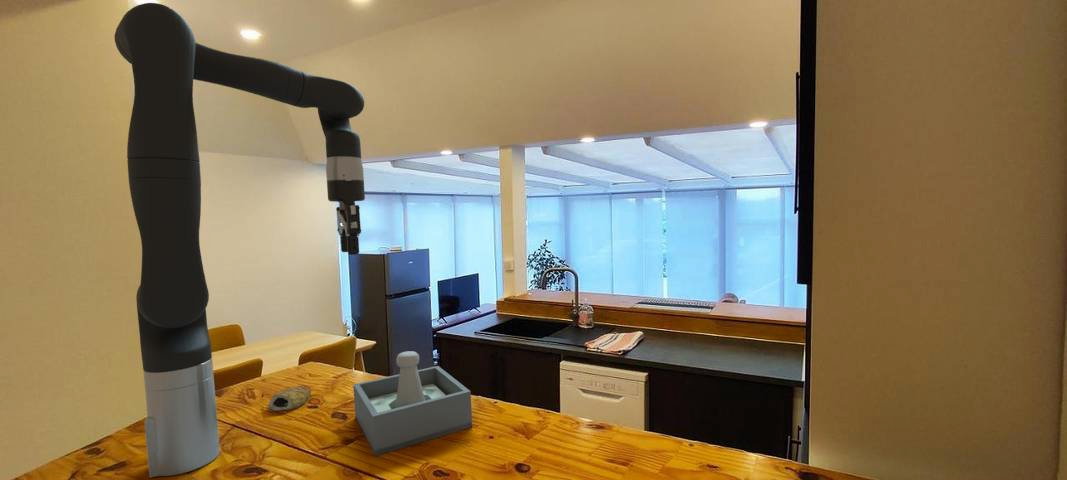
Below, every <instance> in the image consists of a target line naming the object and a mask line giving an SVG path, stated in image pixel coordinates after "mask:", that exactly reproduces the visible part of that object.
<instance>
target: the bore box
mask: <svg viewBox="0 0 1067 480" xmlns="http://www.w3.org/2000/svg"><path fill="white" fill-rule="evenodd" d="M418 373H419V377H420V381H421V385H422V389H423V393H424V397H425V401H422V402H418V403H414V404H410V405H406V406H403V407H399V408H395V405H396V398H397V391H398V383H399V376H400V373H399V374H395V375H389V376H385V377H380V378H376V379H371V380H367V381H362V382H357V383H353V384H352V385H353V400H354V401H353V402H354V416H355V420H356V422H357V424H358V426H359V427H360V429H361V431H362V433H363V435H364V437H365V438H366V441H367V443H368V445H369V447H370V449H371V451H372V453H373V454H374V457H378V456H382V455H384V454H387V453H388V454H389V453H390V452H395V451H397V450H401V449H404V448H408V447H411V446H415V445H417V444H420V443H421V444H422V443H424V442H428V441H430V440H434V439H437V438H440V437H444V436H446V435H450V434H453V433H457V432H461V431H464V430H466V429H470V428H473V417H472V416H473V414H472V395H471V393H472V392H471V390H470V389H469V388H467V387H466V386H464V385H463V384H462V383H461V382H460V381H458V380H457V379H456V378H454V377H453V376H452V375H451V374H449V373H448V372H447V371H446V370H444V369H443V368H441V366H439V365H436V366H430V367H426V368H422V369H418Z"/></svg>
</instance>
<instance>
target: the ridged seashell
mask: <svg viewBox="0 0 1067 480" xmlns="http://www.w3.org/2000/svg"><path fill="white" fill-rule="evenodd" d="M311 394H312V390H311V388H310V387H308V386H303V385H298V386H291V387H285V388H283V389H280V390H279V391H277V392H275V393H274V394H273V395H272V397H271V399H270V401H269V403H268V404H267V408H269V410H270V411H278V412H279V411H290V410H294V409H297V408H300V407H301V406H302V405H304V404H306V402H308V400H309V399H310V398H311V396H312V395H311Z"/></svg>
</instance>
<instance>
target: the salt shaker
mask: <svg viewBox="0 0 1067 480" xmlns="http://www.w3.org/2000/svg"><path fill="white" fill-rule="evenodd" d="M419 363H420V355H419V353H417V351H412V350H410V351H408V350H407V351H402V352H400V353H399V354H397V356H396V365H397V367H399V368H400V370H399V374H400V376H399V383H398V391H397V398H396V405H395V408H399V407H403V406H406V405H410V404H414V403H418V402H422V401H425V397H424V393H423V389H422V385H421V381H420V377H419V373H418V370H419V369H418V366H417V365H418V364H419Z"/></svg>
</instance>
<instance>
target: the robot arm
mask: <svg viewBox="0 0 1067 480" xmlns="http://www.w3.org/2000/svg"><path fill="white" fill-rule="evenodd" d="M114 42H115V46H116V48H117V51H118V53H119V54H120V55H121V56H122V57H123V59H125V60H126V62H128V63H129V64H130V65H131V69H132V74H133V76H132V77H133V85H134V96H133V104H132V109H131V116H130V122H129V127H128V134H127V135H128V136H127V146H126V147H127V149H126V156H127V157H126V158H127V161H126V162H127V173H128V174H127V175H128V176H127V177H128V185H129V186H128V187H129V192H130V197H131V202H132V203H131V204H132V208H133V211H134V216H135V220H136V224H137V227H138V231H139V236H140V242H141V271H140V272H141V273H140V285H139V287H138V288H137V290H136V297H135V298H136V310H137V320H138V321H137V322H138V332H139V343H140V344H139V345H140V352H141V353H140V354H141V361H142V370H143V380H144V381H143V382H144V391H145V392H144V393H145V402H146V404H145V405H146V413H147V416H146V418H145V419H144V430H145V442H146V443H145V444H146V452H147V453H146V454H147V464H148V473H149V474H148V475H149V478H155V477H169V476H176V475H181V474H185V473H189V472H191V471H194V470H197V469H199V468H202V467H204V466H206V465H208V464H209V463H212V461H214V460H215V459H216V458H218V457H219V454H220V437H219V425H218V413H217V401H216V390H215V389H216V388H215V378H214V368H213V367H214V365H213V355H212V343H211V338H210V335H209V329H208V328H209V327H208V322H207V321H208V320H207V307H208V303H209V299H210V298H209V297H210V293H209V289H208V284H207V280H206V275H205V271H204V265H203V259H202V254H201V252H202V251H201V247H200V229H201V212H202V211H201V209H202V186H201V185H202V179H201V165H200V161H201V160H200V153H199V143H198V131H197V130H198V129H197V124H196V116H195V108H194V97H193V95H194V93H193V91H194V80H195V81H200V82H205V83H209V84H214V85H219V86H223V87H227V88H231V89H235V90H240V91H243V92H247V93H249V94H253V95H256V96H260V97H264V98H266V99H270V100H273V101H275V102H276V101H277V102H280V103H282V104H283V103H284V104H286V105H290V106H293V107H297V108H300V109H309V108H316V109H317V114H318V117H319V121H320V126H321V129H322V132H323V134H324V138H325V152H326V153H325V154H326V155H325V156H326V164H325V172H326V173H325V175H326V187H327V199H328V201H329V202H335V203H336V202H338V203H339V204H338V205H339V206H336V220H337V221H336V222H337V230H336V231H337V233H338V235H339V236H340V237H339V238H340V250H341V252H342V253H347V254H348V255H352V256H354V255H359V253H360V242H359V241H360V240H359V237H360V234H362V228H361V226H362V225H361V214H360V205H359V204H356V202H363V201H365V199H366V193H365V180H364V179H365V177H364V168H363V167H364V166H363V162H362V161H363V160H362V150H361V149H362V148H361V139H360V135H359V134H358V133H357V132H356V131H353V130H352V127H351V121H350V119H352V118H355V117H357V116H359V115H360V114H362V112H363V111H364V108H365V98H364V95H363V94H362V93H361V92H360V90H359V89H358V88H357V87H355V86H353V85H352V84H350V83H348V82H346V81H343V80H339V79H334V78H329V77H324V76H319V75H312V74H308V73H307V72H304V71H302V70H298V69H296V68H293V67H291V66H288V65H285V64H282V63H279V62H275V61H273V60H268V59H263V58H258V57H257V58H256V57H251V56H246V55H240V54H235V53H229V52H226V51H222V50H219V49H215V48H212V47H208V46H206V45H203V44H200V43H198V42H196V39H195V35H194V33H193V30H192V28H191V27H190V24H189V23H188V22H187V21H186V19H184V17H183V16H182V15H181V14H179V13H178V12H177V11H175V10H174V9H173V8H171V7H169V6H168V5H164V4H162V3H158V2H144V3H141V4H138V5H136V6H134V7H132V8H131V9H129V10H128V11H127V12H126V13H125V14H124V15H123V16H122V18H121V20H120V22H119V24H118V25H117V27H116V28H115V33H114Z"/></svg>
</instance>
